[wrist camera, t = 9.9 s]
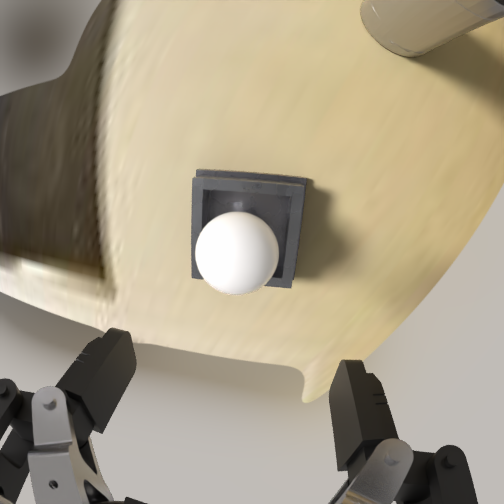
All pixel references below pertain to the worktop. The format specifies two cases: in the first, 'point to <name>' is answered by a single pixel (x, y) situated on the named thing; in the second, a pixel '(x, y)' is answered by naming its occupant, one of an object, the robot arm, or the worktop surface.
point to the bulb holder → (252, 210)
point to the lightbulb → (237, 253)
